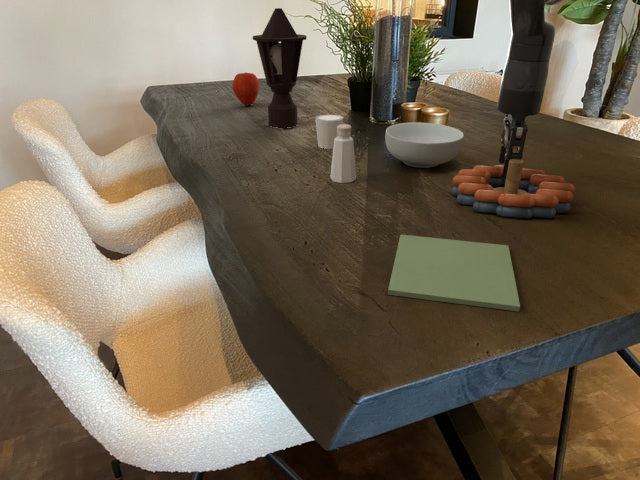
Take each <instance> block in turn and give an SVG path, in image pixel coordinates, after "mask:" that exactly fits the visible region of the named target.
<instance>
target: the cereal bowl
mask: <svg viewBox="0 0 640 480" xmlns="http://www.w3.org/2000/svg"><path fill="white" fill-rule="evenodd" d="M464 137H465V135H464V133H463V131H462V130H460V129H458V128H455V127H453V126H448V125H444V124H441V123H440V124H439V123H432V122H416V121H415V122H413V121H412V122H401V123H395V124H391V125H390V126H388V127H387V128H386V130H385V134H384V140H385V146H386V149H387V151H388V152H389V154H390V155H391V156H392V157H393V158H395V159H397V160H399V161H401V162H402V163H403V164H405V165H407V166H409V167H413V168H419V169H431V168H435V167H437V166H439V165H441V164H442V165H443V164H446V163H447V162H448V163H449V162H450V161H453V160H454V159H455V158H456V157H457V156H458V154H459V153H460V152H461V150H462V147H463V143H464Z"/></svg>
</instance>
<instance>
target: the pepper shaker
mask: <svg viewBox="0 0 640 480" xmlns="http://www.w3.org/2000/svg"><path fill="white" fill-rule="evenodd" d="M351 129H352V126H351V125H350V124H347V123H343V124H341V125H338V126H337V134H338V135H337V137H336V138H335V139H334V147H333V149H332V157H331V167H330V175H329V178H330V180H331V181H332V182H333V183H337V184H351V183H353V182H355V181H356V180H357V171H356V156H355V145H354V138H353V137H352V136H351V134H352V130H351Z"/></svg>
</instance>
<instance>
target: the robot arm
mask: <svg viewBox="0 0 640 480" xmlns="http://www.w3.org/2000/svg"><path fill="white" fill-rule="evenodd" d="M508 1H509V14H510V15H509V16H510V17H509V18H510V28H511V35H510V40H509V46H508V50H507V57H506V61H505V64H504V66H503V67H504V68H503V71H502V76H501V82H500V87H499V93H498V98H497V104H496V110H498V112H500V113H502V114H504V119H503V121H502V128H501V131H500V138H501V139H500V144H501V147H500V150H499V157H498V162H499V164H502V165H503V166H504V167H503V172H502V177H503V178H506V176H507V171H508V165H509V160H510V159H519V160H523V153H524V149H525V144H526V139H527V134H528V132H529V129H528V125H529V124H527V121H526V118H527V117H530V116H532V117H533V116H536V115H538V114H539V113H540V112H541V108H542V104H543V99H544V95H545V90H546V85H547V82H548V76H549V70H550V69H549V68H550V60H551V55H552V51H553V46H554V42H555V38H556V28H555V26H554V25H553V24H552V23H550V22H548V21H546V18H545V17H546V16H545V15H546V14H545V6H555V5H559V4H560V3H562V2H563V1H564V0H508ZM514 149H516V152H513V151H514Z"/></svg>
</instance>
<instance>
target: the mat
mask: <svg viewBox="0 0 640 480" xmlns="http://www.w3.org/2000/svg"><path fill="white" fill-rule="evenodd" d="M387 295H388V296H396V297H403V298H409V299H410V298H411V299H418V300H424V301H425V300H427V301H432V302H433V301H434V302H440V303H441V302H442V303H448V304H457V305H465V306H472V307H480V308H485V309H486V308H487V309H495V310H502V311H512V312H518V313H519V312H520V310H521V303H520V297H519V293H518V288H517V281H516V278H515V272H514V267H513V262H512V257H511V252H510V247H509V244H507V245H506V244H497V243H487V242H478V241H468V240H459V239H449V238H439V237H429V236H420V235H411V234H400V235H399V240H398V243H397V248H396V252H395V257H394V261H393V265H392V271H391V275H390V280H389V284H388V289H387Z"/></svg>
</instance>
